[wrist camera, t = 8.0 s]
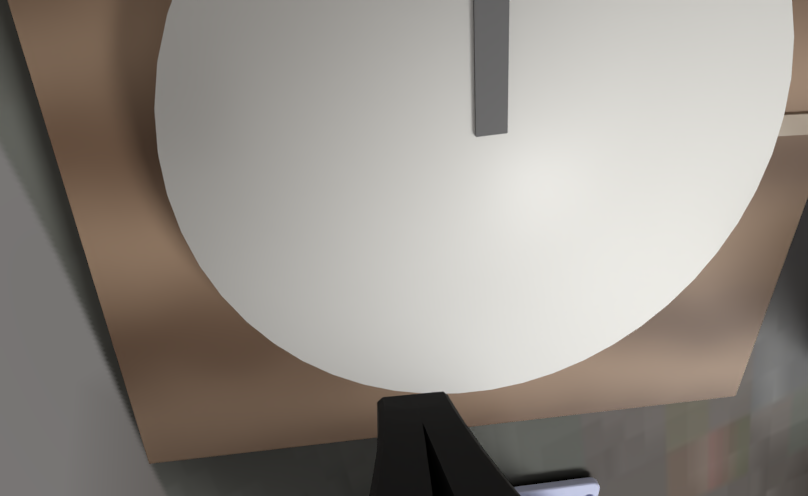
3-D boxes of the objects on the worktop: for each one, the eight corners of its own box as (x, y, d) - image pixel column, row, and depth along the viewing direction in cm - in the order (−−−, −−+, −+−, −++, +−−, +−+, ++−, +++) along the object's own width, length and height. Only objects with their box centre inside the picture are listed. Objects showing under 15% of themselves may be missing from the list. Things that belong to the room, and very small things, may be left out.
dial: (708, 335, 23) (791, 420, 19) (240, 410, 21) (226, 520, 17) (847, -265, 14) (1056, -335, 10) (59, -216, 12) (-54, -278, 8)
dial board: (721, 380, 26) (736, 397, 25) (154, 443, 23) (148, 465, 22) (978, -372, 14) (1026, -392, 13) (-106, -449, 11) (-143, -483, 10)
